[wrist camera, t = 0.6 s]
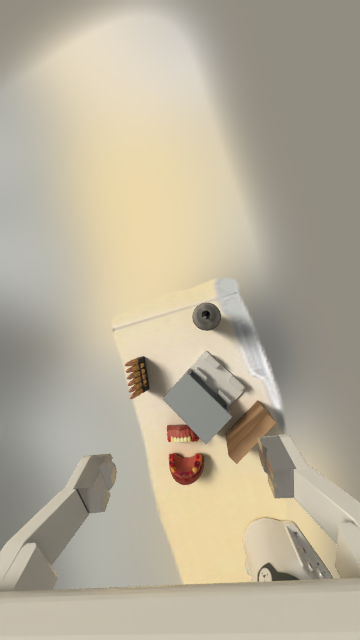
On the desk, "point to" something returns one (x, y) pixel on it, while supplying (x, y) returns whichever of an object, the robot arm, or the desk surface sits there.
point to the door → (248, 431)
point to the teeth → (182, 467)
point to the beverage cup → (206, 316)
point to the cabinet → (205, 396)
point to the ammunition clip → (142, 378)
